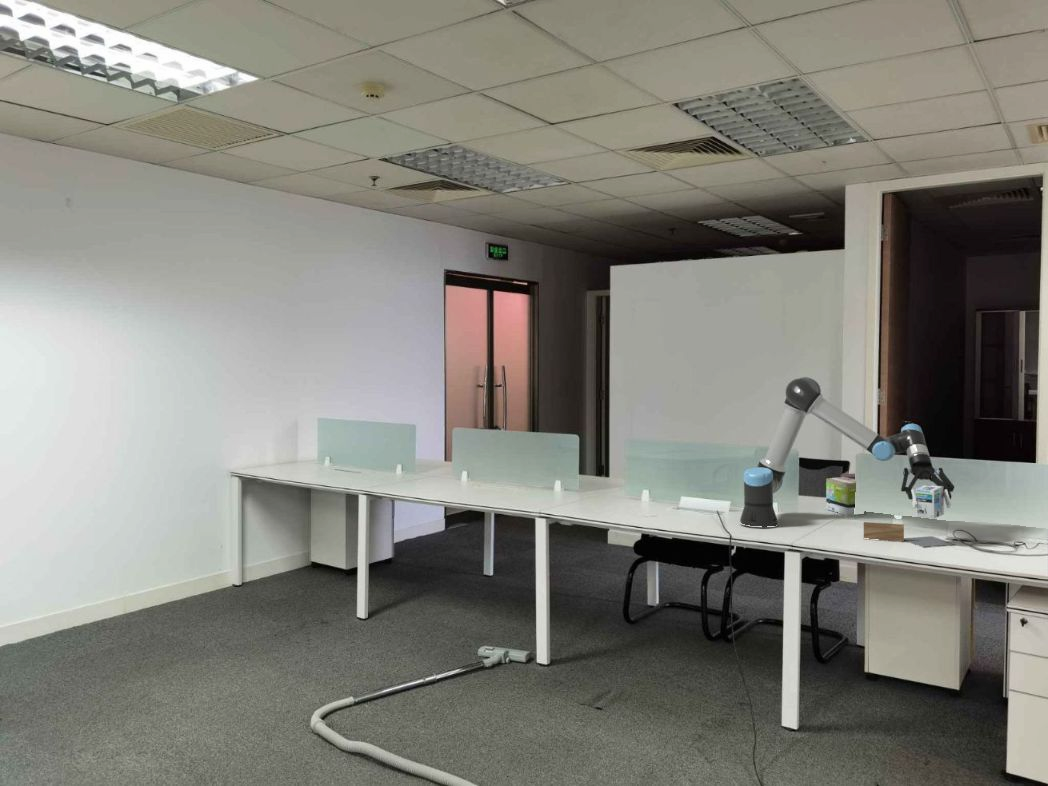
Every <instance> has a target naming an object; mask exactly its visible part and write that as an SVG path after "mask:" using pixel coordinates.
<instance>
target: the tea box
mask: <svg viewBox="0 0 1048 786" xmlns="http://www.w3.org/2000/svg"><path fill="white" fill-rule="evenodd" d="M825 485H826V486H825V487H826V489H825V495H826V496H825V497H826V501H825V503H826V504H825V506H826V510H827V511H831V512H835V513H837V512H838V514H841V515H844V516H846V515H847V517H850V516H851V515H853V514H854V508H855V492H856V480H855V479H851V478H846V477H841V476H840V477H832V478H831V477H830V478H826V479H825ZM853 516H854V515H853ZM851 517H852V516H851Z"/></svg>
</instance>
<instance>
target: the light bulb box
mask: <svg viewBox="0 0 1048 786" xmlns="http://www.w3.org/2000/svg"><path fill="white" fill-rule="evenodd" d="M915 497H916V501H917V506H916V508H915V510H916V511H915V512H916V513H915V514H916V516H915V517H918V518H926V519H933V520H935V519H937V518H939V517H941V516H943V515H944V514H945V507H944V506H945V505H944V503H945V498H944V487H943V486H937V485H932V484H923V485H922V486H919V487H916V488H915Z"/></svg>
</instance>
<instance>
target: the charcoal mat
mask: <svg viewBox="0 0 1048 786" xmlns="http://www.w3.org/2000/svg"><path fill="white" fill-rule="evenodd" d="M904 540H905V541H904V542H907V541H908V542H907V543H910V542H911V543H910V544H913V545H915V544H917V545H916V546H918V545H919V546H918V547H921V546H922V548H932V547H931V546H938V547H947V546H946V545H951V546H956V543H953V542H950V541H948V540H944V539H941V538H939V537H936V536H932V535H931V536H930V535H929V536H915V537H904Z"/></svg>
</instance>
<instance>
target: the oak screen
mask: <svg viewBox="0 0 1048 786" xmlns="http://www.w3.org/2000/svg"><path fill="white" fill-rule="evenodd" d="M864 538H869V539H879V540H878V541H881V540H888V541H887V542H895V541H903V542H902V543H905V541H904V538H905V524H902V523H901V524H900V523H888V522H887V523H886V522H885V523H884V522H871V521H870V522H869V521H863V539H864Z"/></svg>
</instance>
